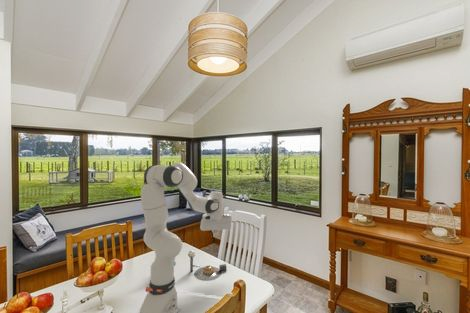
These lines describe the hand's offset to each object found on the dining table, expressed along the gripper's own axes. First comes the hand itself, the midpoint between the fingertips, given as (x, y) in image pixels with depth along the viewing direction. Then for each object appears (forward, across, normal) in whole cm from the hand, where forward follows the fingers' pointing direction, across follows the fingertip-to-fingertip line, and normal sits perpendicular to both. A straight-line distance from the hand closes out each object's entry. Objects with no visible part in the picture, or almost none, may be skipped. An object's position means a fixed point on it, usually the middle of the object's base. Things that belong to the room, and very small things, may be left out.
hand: (215, 236), depth 151 cm
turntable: (+22, +4, +4) cm, 23 cm away
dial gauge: (+23, +14, +1) cm, 27 cm away
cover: (+22, +5, +4) cm, 22 cm away
